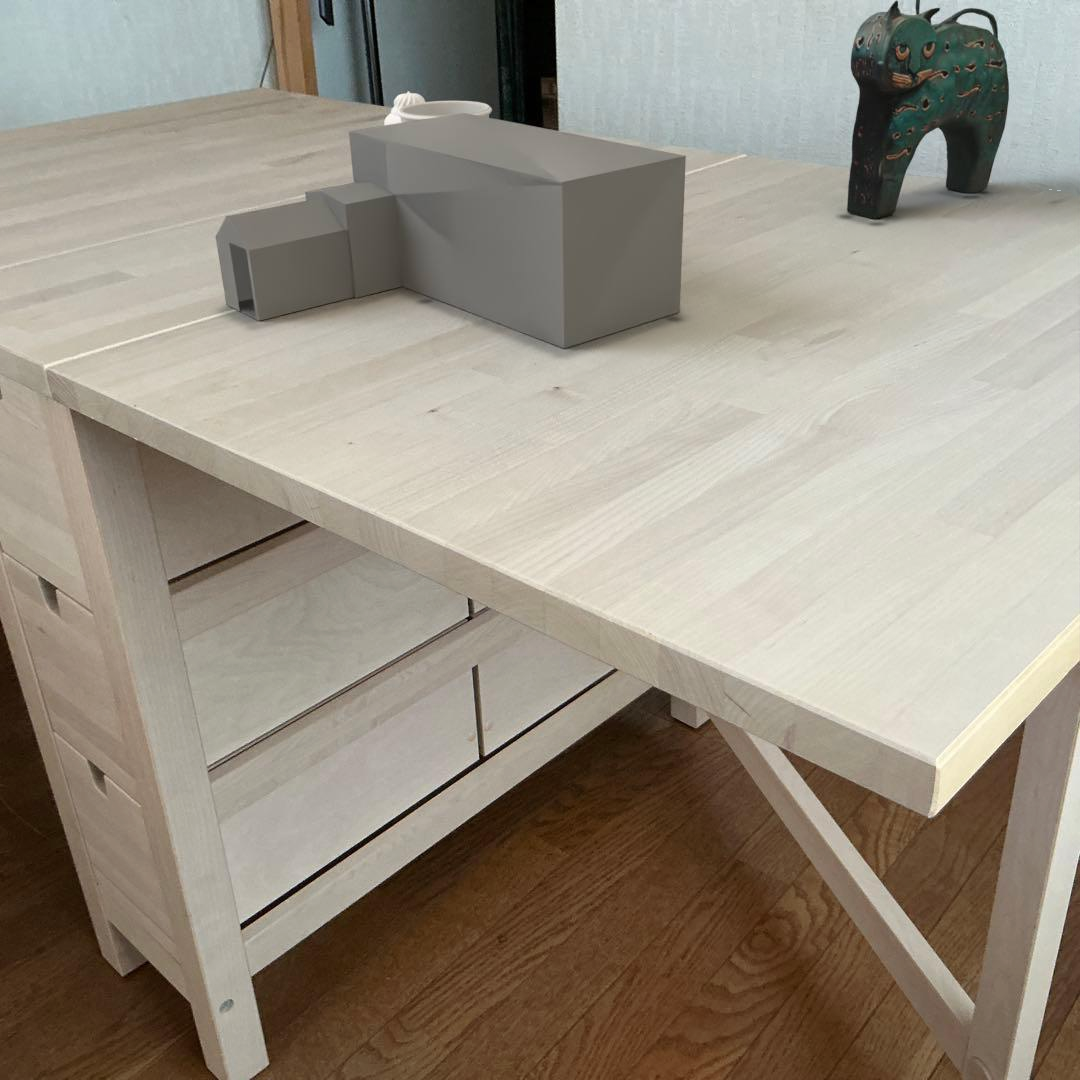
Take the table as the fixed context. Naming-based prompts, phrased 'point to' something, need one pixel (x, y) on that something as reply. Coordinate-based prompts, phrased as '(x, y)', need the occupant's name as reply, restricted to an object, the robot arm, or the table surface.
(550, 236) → the stepped duct adapter
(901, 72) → the ceramic cat
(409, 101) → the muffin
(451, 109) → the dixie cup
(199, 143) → the table surface
